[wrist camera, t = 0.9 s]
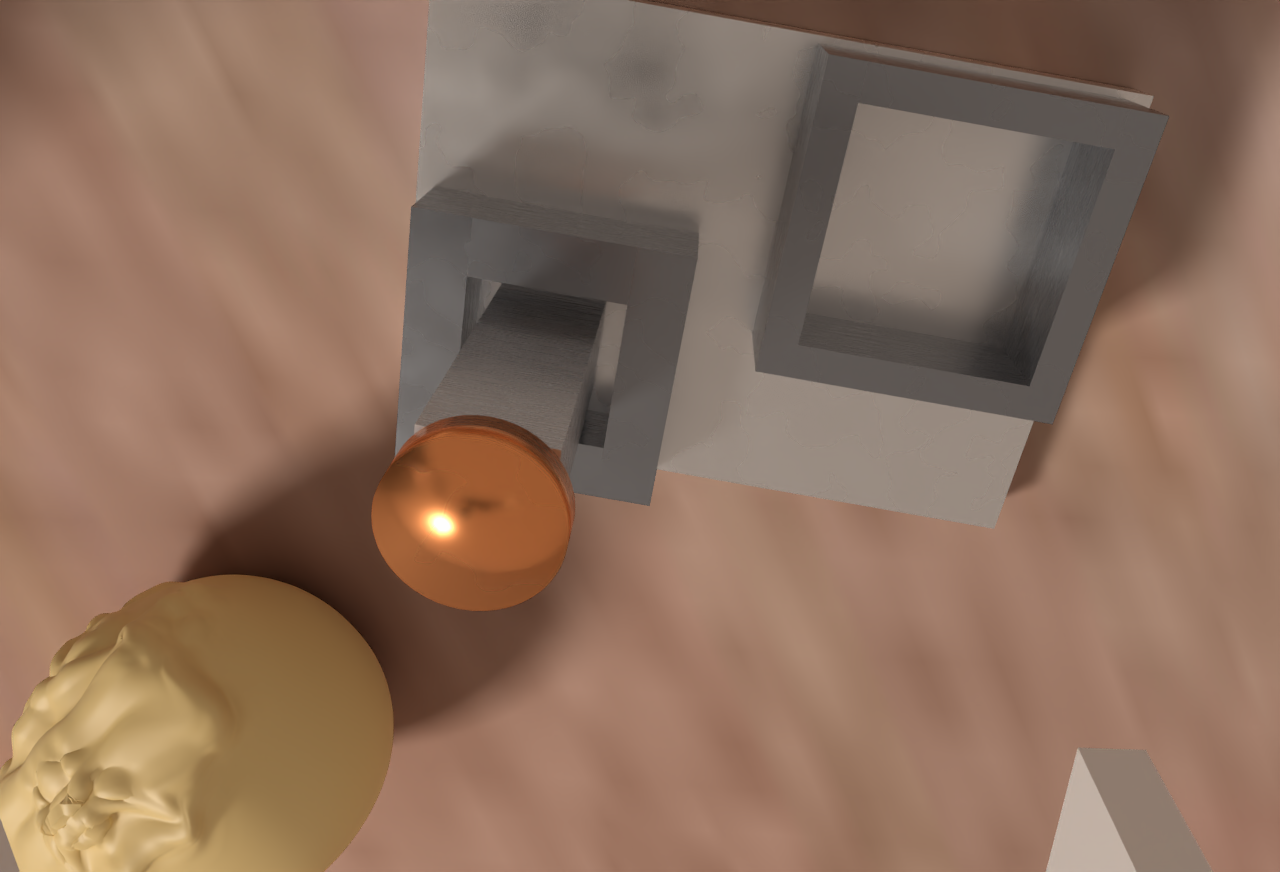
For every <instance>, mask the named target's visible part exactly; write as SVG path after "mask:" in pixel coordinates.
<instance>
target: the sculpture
mask: <svg viewBox="0 0 1280 872" xmlns="http://www.w3.org/2000/svg"><path fill="white" fill-rule="evenodd" d="M393 733H394V719H393V708H392V701H391V696H390V691H389V688H388V684H387V681H386V678H385V675H384V673H383V670H382V668H381V666H380V664H379V662H378V660H377V658H376V656H375V654H374V653H373V651H372V650H371V648H370V647H369V645H368V644H367V642H366V641H365V640H364V638H363V637H362V636H361V635H360V633H359V632H358V631H357V630H356V629H355V628H354V627H353V626H352V625H351V624H350V623H349V622H348V621H347V620H346V619H345V618H344V617H343V616H342V615H341V614H340V613H338V612H337V611H336V610H335V609H333V608H332V607H331V606H329V605H328V604H327V603H325V602H324V601H322V600H320V599H319V598H317V597H315V596H314V595H312V594H310V593H308V592H306V591H304V590H302V589H300V588H298V587H295V586H293V585H290V584H287V583H284V582H281V581H277V580H273V579H269V578H264V577H258V576H251V575H217V576H209V577H204V578H199V579H194V580H191V581H187V582H165V583H161V584H159V585H156V586H154V587H152V588H150V589H148V590H146V591H144V592H142V593H140V594H139V595H137V596H135V597H134V598H132V599H131V600H129V601H128V602H127V603H126V604H125V605H124V606H123V607H122V609H121V610H119V611H117V612H113V613H103V614H100V615H98V616H96V617H95V618H93V619H92V620H91V621H90V623H89V624H88V626H87V628H86V631H85V632H84V633H83V634H81V635H80V636H78V637H76V638H73V639H71V640H69V641H67V642H66V643H65V644H64V645H63V646H62V647H61V648H60V650H59V651H58V652H57V653H56V654H55V656H54V657H53V659H52V662H51V664H50V676H49V677H48V678H46V679H45V680H43V681H42V682H40V683H39V684H38V685H37V686H36V687H35V688H34V691H33V693H32V694H31V696H30V697H29V699H28V700H27V702H26V704H25V707H24V710H23V715H22V716H21V717H20V718H19V719H18V720H17V722H16V723H15V725H14V727H13V730H12V748H13V757H12V758H11V759H9V760H8V761H7V762H6V763H5V764H4V765H3V766H2V768H1V770H0V819H1V821H2V824H3V827H4V830H5V832H6V835H7V838H8V841H9V843H10V846H11V849H12V851H13V854H14V857H15V860H16V862H17V865H18V868H19V871H20V872H324V871H325V870H326V869H327V868H328V867H329V866H330V865H331V864H332V863H333V862H334V861H335V860H336V859H337V858H338V857H339V856H340V855H341V854H342V852H343V851H344V850H345V849H346V848H347V846H348V845H349V844H350V843H351V841H352V840H353V839H354V837H355V836H356V834H357V833H358V832H359V830H360V829H361V827H362V825H363V824H364V822H365V821H366V819H367V817H368V816H369V814H370V812H371V810H372V808H373V806H374V804H375V802H376V800H377V798H378V796H379V793H380V791H381V788H382V786H383V783H384V780H385V777H386V774H387V770H388V767H389V762H390V758H391V752H392V745H393Z"/></svg>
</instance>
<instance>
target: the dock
mask: <svg viewBox="0 0 1280 872" xmlns="http://www.w3.org/2000/svg"><path fill="white" fill-rule="evenodd" d="M1153 97H1154V96H1152V95H1149V94H1146V93H1144V92H1141V91H1138V90H1135V89H1131V88H1126V87H1120V86H1115V85H1109V84H1104V83H1098V82H1093V81H1087V80H1082V79H1076V78H1071V77H1065V76H1060V75H1054V74H1049V73H1043V72H1038V71H1032V70H1027V69H1021V68H1016V67H1010V66H1005V65H999V64H994V63H989V62H983V61H978V60H972V59H967V58H961V57H956V56H950V55H945V54H939V53H934V52H928V51H923V50H917V49H912V48H906V47H901V46H895V45H890V44H884V43H879V42H873V41H868V40H862V39H857V38H851V37H846V36H840V35H835V34H829V33H824V32H818V31H813V30H807V29H802V28H796V27H791V26H786V25H780V24H775V23H769V22H764V21H758V20H753V19H747V18H742V17H736V16H731V15H725V14H720V13H714V12H709V11H703V10H698V9H692V8H687V7H681V6H676V5H670V4H665V3H659V2H654V1H648V0H430V1H429V15H428V30H427V45H426V59H425V74H424V89H423V103H422V118H421V133H420V148H419V162H418V177H417V192H416V203H415V204H414V205H413V206H412V207H411V220H410V235H409V250H408V265H407V280H406V295H405V311H404V326H403V341H402V356H401V371H400V386H399V401H398V416H397V431H396V447H395V456H396V455H397V453H398V452H399V450H400V449H401V447H402V446H403V445H404V444H405V442H406V441H407V440H408V439H409V438H410V437H411V436H413V435H414V427H415V423H416V421H417V420H418V418H419V416H420V415H421V413H422V412H423V410H424V408H425V407H426V405H427V404H428V402H429V400H430V399H431V397H432V395H433V394H434V392H435V391H436V389H437V387H438V386H439V384H440V383H441V381H442V379H443V378H444V376H445V374H446V373H447V371H448V370H449V368H450V366H451V365H452V363H453V361H454V360H455V358H456V357H457V355H458V353H459V352H460V350H461V349H462V347H463V345H464V344H465V342H466V340H467V339H468V337H469V336H470V334H471V332H472V331H473V329H474V328H475V326H476V324H477V323H478V321H479V319H480V318H481V316H482V315H483V313H484V311H485V310H486V308H487V307H488V305H489V303H490V302H491V300H492V298H493V297H494V295H495V294H496V292H497V290H498V289H499V287H500V285H501V284H502V283H506V284H512V285H517V286H523V287H529V288H534V289H540V290H545V291H551V292H557V293H562V294H568V295H573V296H579V297H585V298H590V299H596V300H601V301H607V304H606V310H605V317H604V323H603V329H602V336H601V342H600V348H599V355H598V361H597V367H596V374H595V380H594V387H593V392H592V396H591V399H590V403H589V407H588V410H587V414H586V418H585V421H584V425H583V429H582V433H581V436H580V440H579V444H578V447H577V451H576V455H575V458H574V462H573V466H572V470H571V473H570V477H569V478H570V481H571V483H572V487H573V491H574V493H579V494H585V495H590V496H596V497H602V498H608V499H613V500H619V501H625V502H630V503H636V504H642V505H647V506H650V501H651V496H652V491H653V486H654V481H655V476H656V470H657V469H659V470H664V471H670V472H676V473H681V474H687V475H693V476H698V477H704V478H710V479H715V480H721V481H727V482H732V483H738V484H744V485H749V486H755V487H761V488H766V489H772V490H778V491H783V492H789V493H795V494H800V495H806V496H812V497H817V498H823V499H829V500H834V501H840V502H846V503H851V504H857V505H863V506H868V507H874V508H880V509H885V510H891V511H897V512H902V513H908V514H913V515H919V516H925V517H930V518H936V519H942V520H947V521H953V522H959V523H964V524H970V525H976V526H981V527H987V528H993V529H994V528H995V525H996V522H997V519H998V517H999V514H1000V511H1001V509H1002V506H1003V503H1004V500H1005V498H1006V495H1007V492H1008V490H1009V487H1010V484H1011V482H1012V479H1013V476H1014V473H1015V471H1016V468H1017V465H1018V463H1019V460H1020V457H1021V454H1022V452H1023V449H1024V446H1025V444H1026V441H1027V438H1028V436H1029V433H1030V430H1031V427H1032V425H1033V422H1034V421H1037V422H1042V423H1048V424H1053V422H1054V419H1055V416H1056V414H1057V411H1058V409H1059V406H1060V403H1061V401H1062V398H1063V395H1064V393H1065V390H1066V387H1067V385H1068V382H1069V380H1070V377H1071V374H1072V372H1073V369H1074V366H1075V364H1076V361H1077V358H1078V356H1079V353H1080V350H1081V348H1082V345H1083V343H1084V340H1085V337H1086V335H1087V332H1088V329H1089V327H1090V324H1091V321H1092V319H1093V316H1094V314H1095V311H1096V308H1097V306H1098V303H1099V300H1100V298H1101V295H1102V292H1103V290H1104V287H1105V284H1106V282H1107V279H1108V277H1109V274H1110V271H1111V269H1112V266H1113V263H1114V261H1115V258H1116V255H1117V253H1118V250H1119V248H1120V245H1121V242H1122V240H1123V237H1124V234H1125V232H1126V229H1127V226H1128V224H1129V221H1130V219H1131V216H1132V213H1133V211H1134V208H1135V205H1136V203H1137V200H1138V197H1139V195H1140V192H1141V189H1142V187H1143V184H1144V182H1145V179H1146V176H1147V174H1148V171H1149V168H1150V166H1151V163H1152V160H1153V158H1154V155H1155V153H1156V150H1157V147H1158V145H1159V142H1160V139H1161V137H1162V134H1163V131H1164V129H1165V126H1166V124H1167V121H1168V118H1169V116H1168V115H1165V114H1163V113H1160V112H1158V111H1155V110H1152V109H1150V105H1151V103H1152V100H1153Z"/></svg>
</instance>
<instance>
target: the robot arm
mask: <svg viewBox="0 0 1280 872" xmlns="http://www.w3.org/2000/svg"><path fill="white" fill-rule="evenodd" d="M0 872H20V871H19V868H18V865H17V862H16V860H15V857H14V854H13V851H12V849H11V846H10V843H9V841H8V838H7V835H6V832H5V830H4V827H3V824H2V821H1V819H0ZM1046 872H1213V871H1212V869H1211V867H1210V865H1209V864H1208V862H1207V860H1206V858H1205V856H1204V854H1203V853H1202V851H1201V849H1200V847H1199V845H1198V844H1197V842H1196V840H1195V838H1194V836H1193V835H1192V833H1191V831H1190V829H1189V827H1188V826H1187V824H1186V822H1185V820H1184V818H1183V817H1182V815H1181V813H1180V811H1179V809H1178V807H1177V806H1176V804H1175V802H1174V800H1173V798H1172V797H1171V795H1170V793H1169V791H1168V789H1167V788H1166V786H1165V784H1164V782H1163V780H1162V779H1161V777H1160V775H1159V773H1158V771H1157V769H1156V768H1155V766H1154V764H1153V762H1152V760H1151V759H1150V757H1149V755H1148V753H1147V751H1146V750H1131V749H1102V748H1078V749H1077V753H1076V757H1075V761H1074V765H1073V768H1072V772H1071V776H1070V780H1069V784H1068V788H1067V792H1066V796H1065V800H1064V803H1063V807H1062V811H1061V815H1060V819H1059V823H1058V827H1057V831H1056V835H1055V839H1054V842H1053V846H1052V850H1051V854H1050V858H1049V862H1048V866H1047V870H1046Z"/></svg>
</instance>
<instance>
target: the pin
mask: <svg viewBox="0 0 1280 872" xmlns="http://www.w3.org/2000/svg"><path fill="white" fill-rule="evenodd" d="M606 304H607V301H601V300H596V299H590V298H585V297H579V296H573V295H568V294H562V293H557V292H551V291H545V290H540V289H534V288H529V287H523V286H517V285H512V284H506V283H502V284H501V285H500V287H499V289H498V290H497V292H496V294H495V295H494V297H493V298H492V300H491V302H490V303H489V305H488V307H487V308H486V310H485V311H484V313H483V315H482V316H481V318H480V319H479V321H478V323H477V324H476V326H475V328H474V329H473V331H472V332H471V334H470V336H469V337H468V339H467V340H466V342H465V344H464V345H463V347H462V349H461V350H460V352H459V353H458V355H457V357H456V358H455V360H454V361H453V363H452V365H451V366H450V368H449V370H448V371H447V373H446V374H445V376H444V378H443V379H442V381H441V383H440V384H439V386H438V387H437V389H436V391H435V392H434V394H433V395H432V397H431V399H430V400H429V402H428V404H427V405H426V407H425V408H424V410H423V412H422V413H421V415H420V416H419V418H418V420H417V421H416V423H415V427H414V435H413V436H411V437H410V438H409V439H408V440H407V441H406V442H405V444H404V445H403V446H402V447H401V449H400V450H399V452H398V453H397V455H396V456H395V458H394V459H393V461H392V463H391V464H390V466H389V468H388V469H387V471H386V472H385V474H384V476H383V477H382V479H381V481H380V483H379V485H378V487H377V489H376V492H375V495H374V498H373V503H372V511H371V517H372V528H373V534H374V537H375V540H376V543H377V546H378V548H379V550H380V552H381V554H382V556H383V558H384V559H385V561H386V562H387V564H388V566H389V567H390V568H391V569H392V570H393V572H394V573H395V574H396V575H397V576H398V577H399V578H400V579H401V580H402V581H403V582H404V583H405V584H407V585H408V586H409V587H411V588H412V589H413V590H415V591H416V592H418V593H419V594H421V595H423V596H424V597H426V598H428V599H431V600H433V601H435V602H437V603H440V604H443V605H446V606H449V607H453V608H457V609H462V610H470V611H490V610H499V609H503V608H508V607H511V606H514V605H517V604H520V603H522V602H524V601H526V600H528V599H530V598H532V597H533V596H535V595H536V594H538V593H539V592H540V591H542V590H543V589H544V588H545V587H546V586H547V585H548V584H549V583H550V582H551V581H552V579H553V578H554V577H555V576H556V574H557V572H558V571H559V569H560V567H561V565H562V563H563V560H564V558H565V554H566V550H567V546H568V542H569V538H570V534H571V530H572V525H573V521H574V516H575V496H574V491H573V487H572V483H571V481H570V478H569V477H570V473H571V470H572V466H573V462H574V458H575V455H576V451H577V447H578V444H579V440H580V436H581V433H582V429H583V425H584V421H585V418H586V414H587V410H588V407H589V403H590V399H591V396H592V392H593V387H594V380H595V374H596V367H597V361H598V355H599V348H600V342H601V336H602V329H603V323H604V317H605V310H606Z"/></svg>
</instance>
